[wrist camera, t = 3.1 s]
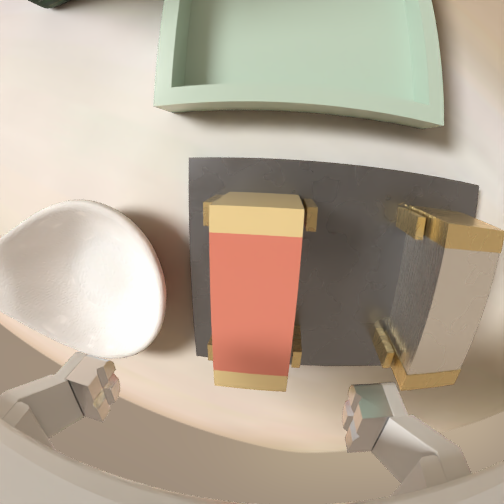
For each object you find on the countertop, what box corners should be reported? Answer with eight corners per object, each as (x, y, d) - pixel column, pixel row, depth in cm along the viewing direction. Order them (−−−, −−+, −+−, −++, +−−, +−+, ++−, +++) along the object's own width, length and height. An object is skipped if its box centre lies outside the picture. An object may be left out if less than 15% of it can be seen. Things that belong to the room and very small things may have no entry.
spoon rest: (181, 194, 19) (128, 215, 12) (184, 345, 23) (152, 407, 16) (-17, 195, 21) (-67, 210, 14) (-1, 297, 24) (-41, 324, 18)
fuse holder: (471, 183, 16) (525, 197, 10) (430, 354, 20) (458, 402, 15) (193, 157, 18) (154, 159, 12) (199, 348, 22) (176, 401, 16)
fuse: (298, 194, 17) (304, 209, 12) (286, 342, 20) (285, 391, 15) (229, 191, 17) (208, 204, 13) (229, 337, 20) (214, 385, 16)
